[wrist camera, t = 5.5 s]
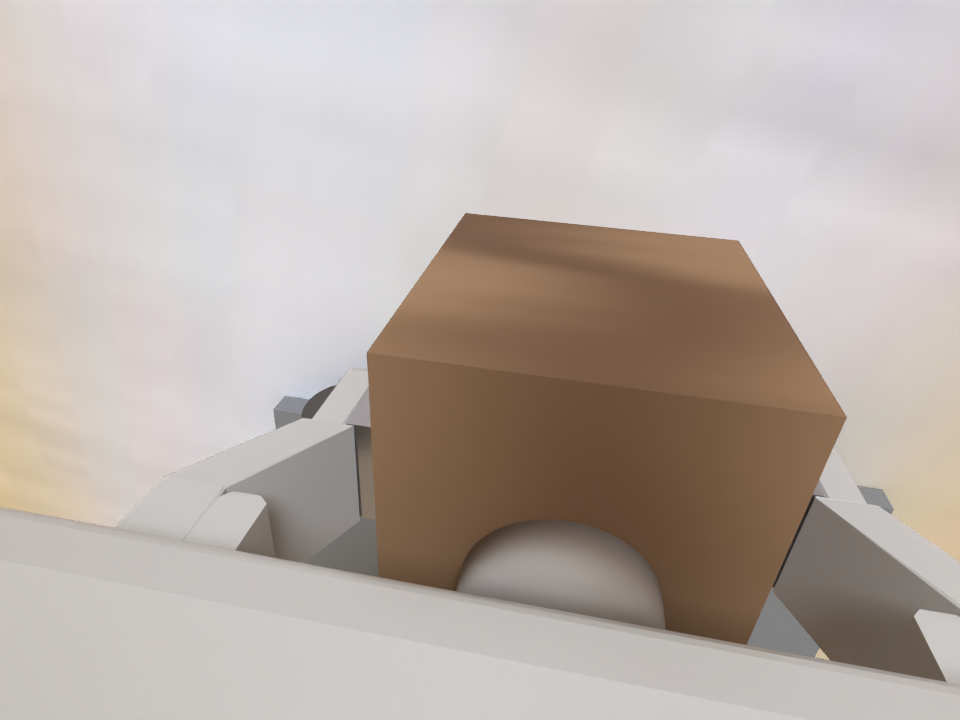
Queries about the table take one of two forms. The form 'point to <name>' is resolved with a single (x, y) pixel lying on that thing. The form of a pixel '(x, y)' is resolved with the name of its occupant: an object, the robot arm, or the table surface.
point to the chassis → (361, 554)
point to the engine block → (595, 426)
